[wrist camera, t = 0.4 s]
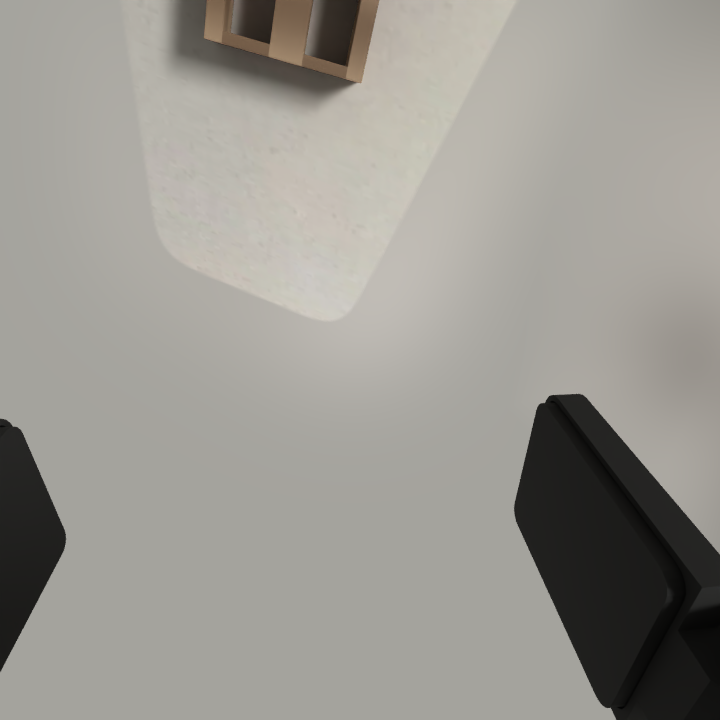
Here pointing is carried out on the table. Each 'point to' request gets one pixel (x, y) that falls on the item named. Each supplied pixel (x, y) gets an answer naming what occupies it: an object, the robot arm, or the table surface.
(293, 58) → the wooden frame
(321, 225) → the table surface
